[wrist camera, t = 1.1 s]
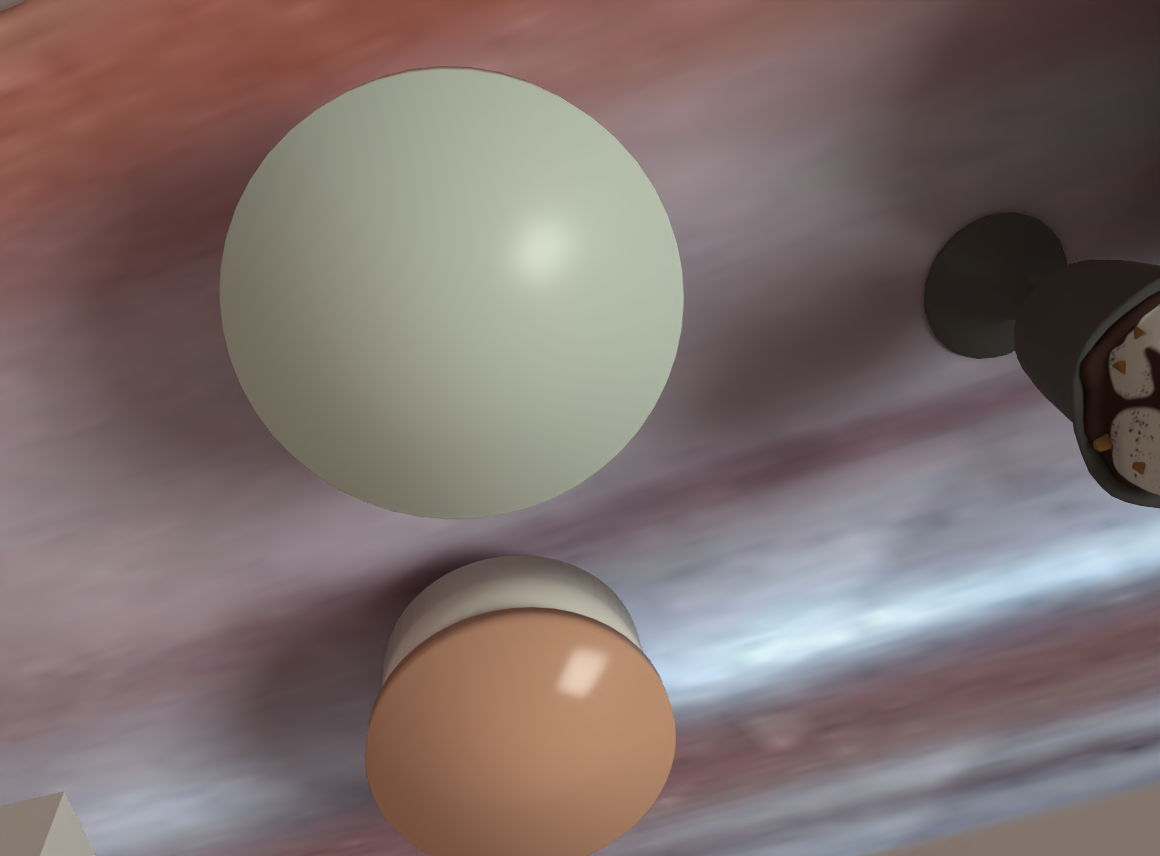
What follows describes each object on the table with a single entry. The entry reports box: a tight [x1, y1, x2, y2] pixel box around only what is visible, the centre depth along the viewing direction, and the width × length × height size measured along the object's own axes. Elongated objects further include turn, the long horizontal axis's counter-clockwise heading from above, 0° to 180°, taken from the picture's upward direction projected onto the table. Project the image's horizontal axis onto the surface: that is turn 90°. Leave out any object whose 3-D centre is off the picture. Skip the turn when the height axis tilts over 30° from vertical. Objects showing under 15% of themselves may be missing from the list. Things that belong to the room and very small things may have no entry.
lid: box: [219, 66, 684, 519], centre depth 25 cm, size 11×11×2 cm
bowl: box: [365, 555, 676, 856], centre depth 34 cm, size 10×10×6 cm
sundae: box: [925, 213, 1160, 508], centre depth 26 cm, size 7×7×15 cm
